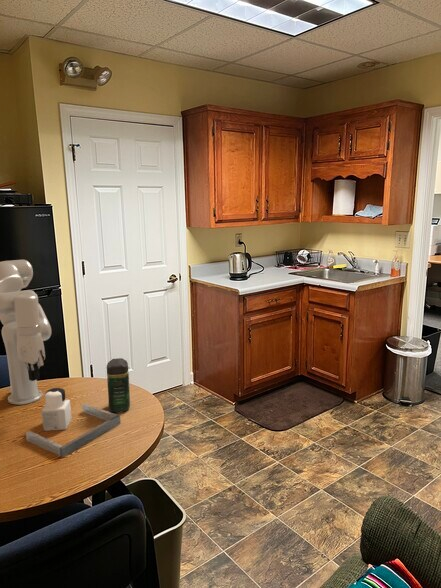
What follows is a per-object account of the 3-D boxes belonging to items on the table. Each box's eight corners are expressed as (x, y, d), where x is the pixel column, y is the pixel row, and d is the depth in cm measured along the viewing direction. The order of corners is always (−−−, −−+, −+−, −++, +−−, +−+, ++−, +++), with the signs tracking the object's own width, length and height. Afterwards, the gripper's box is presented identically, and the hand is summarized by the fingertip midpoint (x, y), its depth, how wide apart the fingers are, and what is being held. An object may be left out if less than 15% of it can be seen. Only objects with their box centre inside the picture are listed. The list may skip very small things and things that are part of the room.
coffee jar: (130, 412, 165) (127, 364, 161) (108, 414, 163) (105, 366, 159) (130, 400, 174) (127, 355, 170) (109, 402, 172) (106, 357, 168)
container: (49, 419, 160) (46, 386, 157) (71, 418, 160) (68, 385, 157) (43, 431, 152) (39, 395, 149) (66, 429, 153) (63, 394, 150)
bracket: (26, 440, 146) (25, 432, 146) (85, 410, 166) (84, 403, 166) (63, 457, 137) (62, 448, 136) (120, 423, 157) (120, 415, 156)
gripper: (6, 329, 156) (12, 378, 159) (32, 335, 148) (38, 387, 151) (25, 324, 162) (31, 372, 166) (52, 330, 154) (57, 380, 158)
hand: (34, 379), depth 158 cm, fingers closed
